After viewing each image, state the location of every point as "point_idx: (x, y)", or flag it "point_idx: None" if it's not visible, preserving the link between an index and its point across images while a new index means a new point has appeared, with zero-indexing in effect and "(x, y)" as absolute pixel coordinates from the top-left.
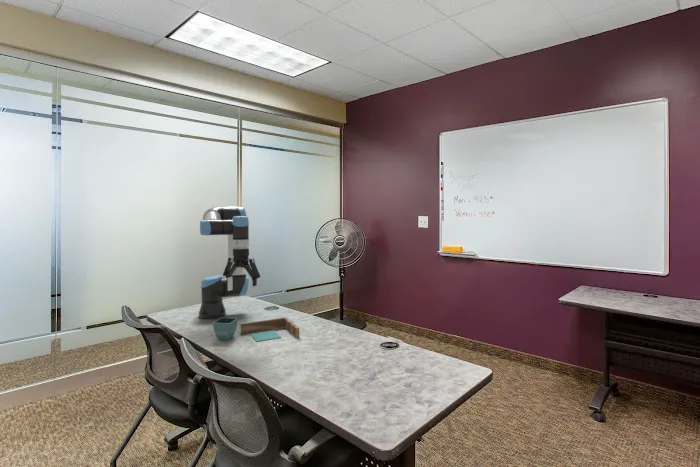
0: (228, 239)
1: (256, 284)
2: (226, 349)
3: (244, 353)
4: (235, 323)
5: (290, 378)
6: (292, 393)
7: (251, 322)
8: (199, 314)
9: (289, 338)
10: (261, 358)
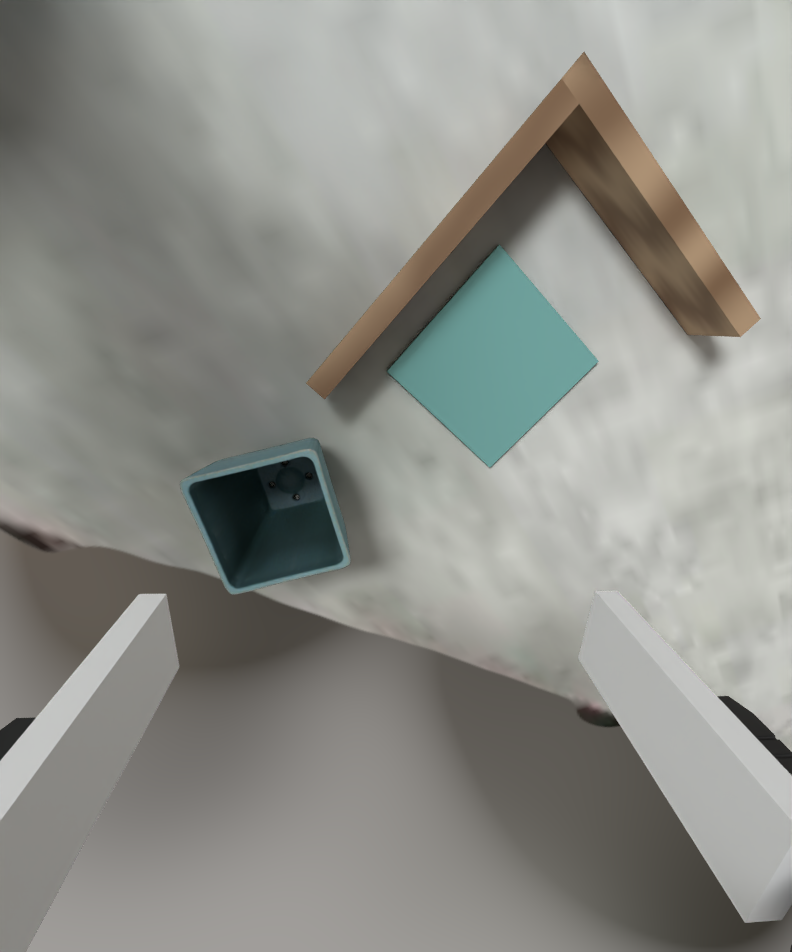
0: None
1: (755, 725)
2: (401, 590)
3: (505, 596)
4: (325, 473)
5: (748, 691)
6: None
7: (365, 327)
8: None
9: (648, 352)
10: None
